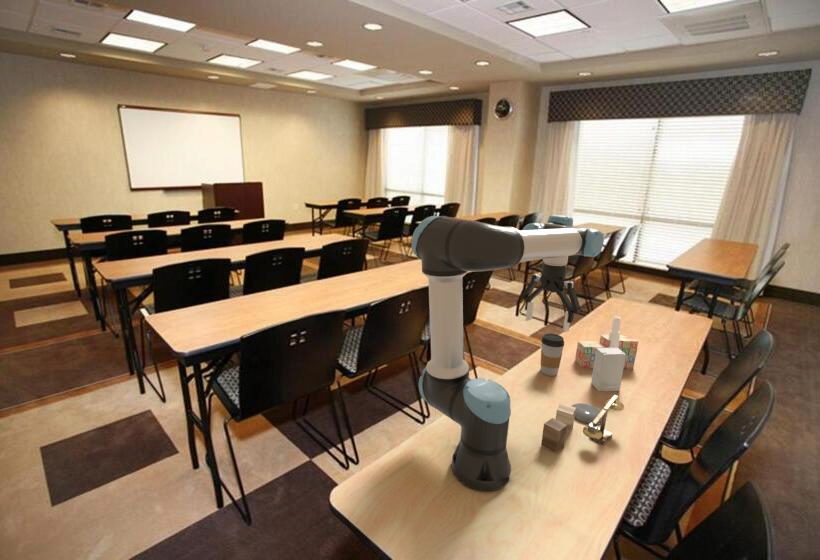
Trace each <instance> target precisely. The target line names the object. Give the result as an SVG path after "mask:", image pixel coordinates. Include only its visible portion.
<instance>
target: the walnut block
mask: <svg viewBox="0 0 820 560" xmlns="http://www.w3.org/2000/svg"><path fill="white" fill-rule="evenodd" d="M566 430H567V425H566V424H564V423H562V422H560V421H558V420H556V418H554V417H552V418H550V419H549V420H547V421H545V422H544V423H543V430H542V435H541V444H540V446H542V447H543V448H545V449H547V450H548V451H551V452H553V453H554V454H557V453H559V451H561V450H562V449H564V447H565V442H566Z"/></svg>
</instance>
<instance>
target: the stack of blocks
mask: <svg viewBox="0 0 820 560" xmlns="http://www.w3.org/2000/svg"><path fill="white" fill-rule="evenodd" d="M608 337H609V334H600V337H599V341H593V340H592V341H587V340H586V341H584V340H578V341H577V346H576V351H575V358H574V359H575V360H574V361H575V362H576V363H577V364H578V365H579V366H580V368H590V369H591V368H592V369H593V367H594V360H595V353H596V348H609V347H610V343H611V340H609V339H608ZM638 345H639V340H637V339H635V338H634V337H632V336H631V335H623V334H620V340H619V349H620V350H621V351H622V352H623V353H625V354H626V356H625V362H624V368H623V369H634V367H635V363H636V356H637V352H638Z"/></svg>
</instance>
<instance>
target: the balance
mask: <svg viewBox="0 0 820 560" xmlns="http://www.w3.org/2000/svg"><path fill="white" fill-rule="evenodd" d="M618 398H619V396H618V395H616V394H614V395H613V396H612V397H611V398H610V399H607V400H605V403H604V404H605V406H604V407H603V408H602V409H601V412H600V413H599V414H598V416H597V417H596V418H595V419H594V421H593V422H592V423H591V424H588V425H587V426H584V427H583V429H582V433H583V435H584V436H586V437H588V438H589V439H592V440H593V441H595V442H596V443H600V445H605V443H606V442H607V441H609V440H610V439H611V438H612V437H613V432H611V431H608V430H606V429H605V428H606V422H607V417H608V411H609V410H610V409H611V410H613V411H623V410H624V409H625V405H624V404H623V403H622V402H621V401H618V400H619V399H618ZM600 420H601V423H600V426H599V424H598V423H599V421H600Z"/></svg>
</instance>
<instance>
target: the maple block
mask: <svg viewBox="0 0 820 560" xmlns="http://www.w3.org/2000/svg"><path fill="white" fill-rule="evenodd" d="M575 412H576V408H575V407H572V405H568V404H565V403H562V402H560V403H559V405H558V407H557V409H556V413H555V419H556V420H558V421H560V422H562V423H564V424H566V425H567V430H566V435H567V436H569V437H570V436H571V434H572V431H573V429H574V423H575Z"/></svg>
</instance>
